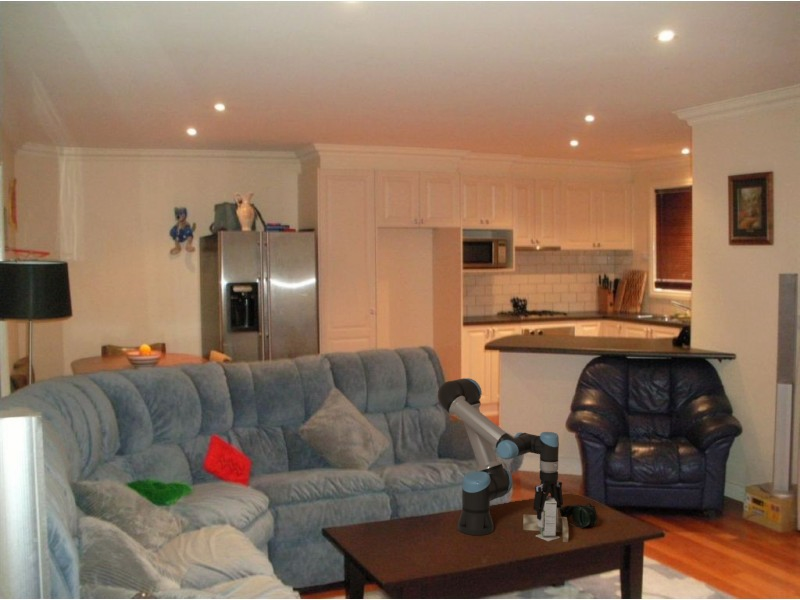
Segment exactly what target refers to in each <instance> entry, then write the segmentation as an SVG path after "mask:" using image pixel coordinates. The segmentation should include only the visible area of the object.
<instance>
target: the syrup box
mask: <svg viewBox="0 0 800 600" xmlns="http://www.w3.org/2000/svg"><path fill="white" fill-rule="evenodd" d="M556 506H557V502H556V500H555V499H554V498H552V497H551V496H547V498H546V501H545V504H544V508H543V512H544V528H542V527H540V531H539V532H540V534H542V536H555V535H556V534H557V532H556ZM556 536H557V535H556Z"/></svg>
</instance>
